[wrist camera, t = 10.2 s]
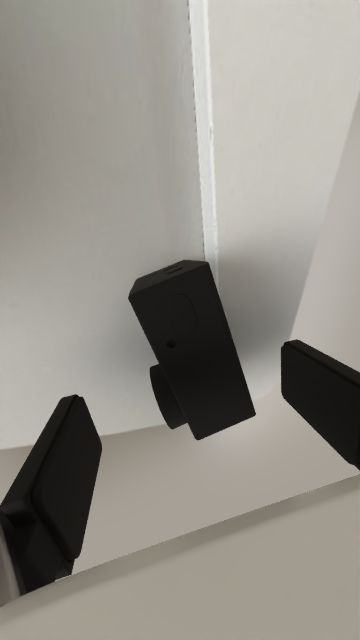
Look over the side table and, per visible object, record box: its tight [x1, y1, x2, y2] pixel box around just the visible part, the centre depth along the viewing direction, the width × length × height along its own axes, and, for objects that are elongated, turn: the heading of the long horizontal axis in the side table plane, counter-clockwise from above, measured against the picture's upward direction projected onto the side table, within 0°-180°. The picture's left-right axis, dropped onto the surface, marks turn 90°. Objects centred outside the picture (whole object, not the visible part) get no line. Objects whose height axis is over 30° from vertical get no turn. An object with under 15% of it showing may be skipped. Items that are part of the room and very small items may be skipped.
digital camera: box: [128, 260, 256, 440], centre depth 15 cm, size 10×5×7 cm, turn 21°
